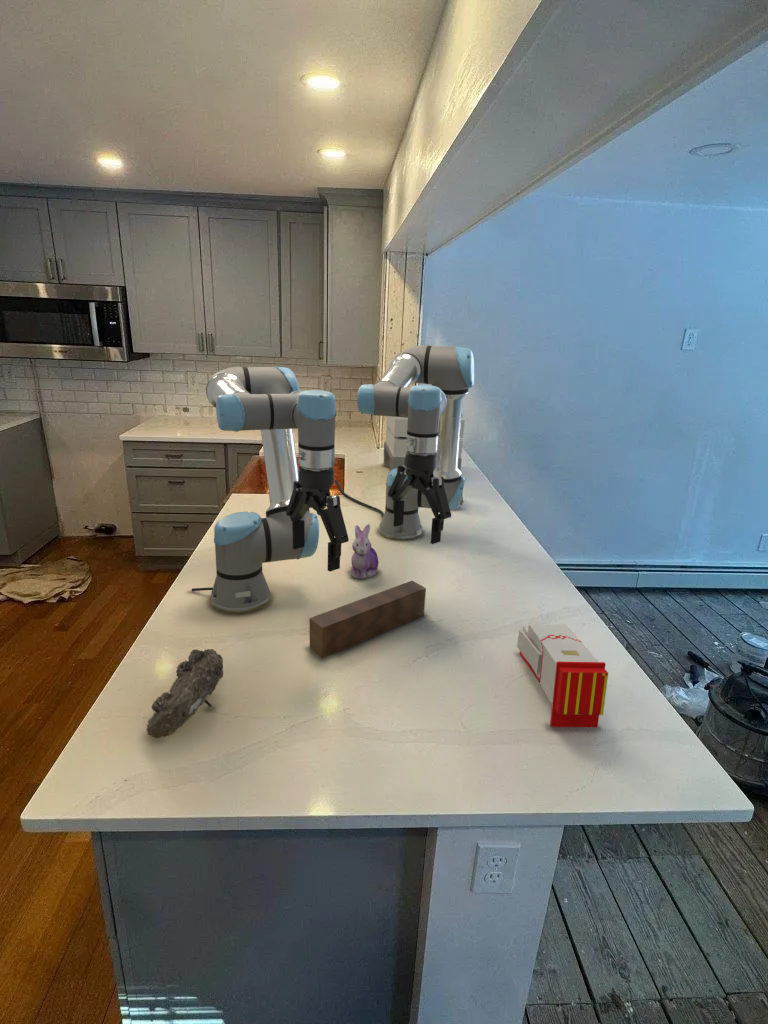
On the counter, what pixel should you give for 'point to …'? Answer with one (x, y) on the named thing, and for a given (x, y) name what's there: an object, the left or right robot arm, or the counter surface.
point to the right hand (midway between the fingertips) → (416, 533)
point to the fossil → (186, 692)
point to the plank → (365, 618)
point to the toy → (565, 673)
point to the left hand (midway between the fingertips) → (315, 558)
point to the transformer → (404, 442)
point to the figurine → (363, 555)
